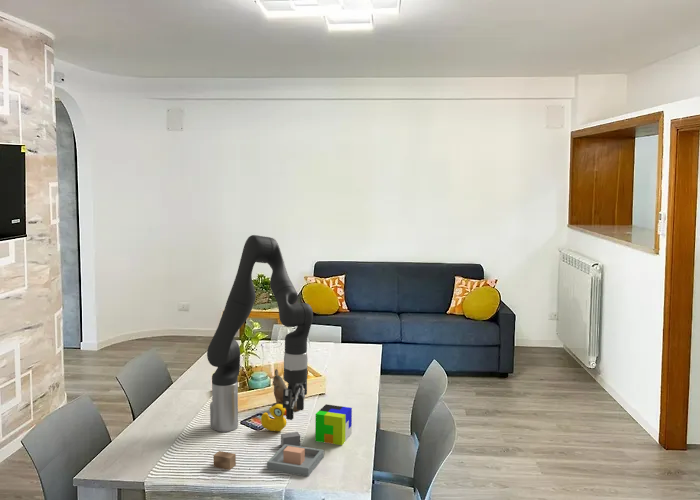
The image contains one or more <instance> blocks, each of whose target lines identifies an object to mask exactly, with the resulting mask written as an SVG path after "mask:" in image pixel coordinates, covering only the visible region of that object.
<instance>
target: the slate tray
mask: <svg viewBox="0 0 700 500" xmlns="http://www.w3.org/2000/svg"><path fill="white" fill-rule="evenodd" d="M287 446H291V447H298V448H304V449H305V461H304V462H303V463H302V464H301V465H298V464H292V463H285V462H283V450H284V449H285V448H286V447H287ZM324 452H325V450H324V449H321V448H314V447H308V446H307V447H306V446H301V445H300V446H294V445H288V444H284V445H283V446H281V447H280V448H279V449H278V450H277V452H276V453H274V454H273V455H272V457H271V458H270V459H268V460H267V462H266V464H267V465H266V470H267V471H274V472H279V473H286V474H292V475H299V476H304V477H309V476H310V475H311V474H312V473H313V471H315V469H316V468H317V466H318V465H319V464H320V462H321V461H322V460H323V459H324V455H325V453H324Z"/></svg>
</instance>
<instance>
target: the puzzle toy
mask: <svg viewBox="0 0 700 500" xmlns="http://www.w3.org/2000/svg"><path fill="white" fill-rule="evenodd" d="M352 409H353V407H348V406H347V407H346V406H341V405H333V404H325V405H324V406H322V407H321V408H320V409H319V410H318V411H317V412H316V413H315V422H314V423H315V433H314V434H315V442H319V443H324V442H325V443H324V444H332V445H338V446H343V445H344V444H345V443H346V442H347V440H348V439H349V438H350V437H351V436H352V433H353V432H352V430H353V429H352V428H353V427H352V426H353V425H352V423H353V422H352V419H353V418H352V415H353V413H352V412H353V410H352ZM344 442H345V443H344Z"/></svg>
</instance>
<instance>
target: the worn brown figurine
mask: <svg viewBox="0 0 700 500" xmlns="http://www.w3.org/2000/svg"><path fill="white" fill-rule="evenodd" d="M274 375H275V376H273V379H272V384H273V397H274V399H275V402H273V403H272V404H271V407H273V406H274V405H276V404H281V405H283V390H284V389H287V388H288V386H286V383H285V380H284V378H282V376H281V375H279V370H278V368H276V369H275V370H274ZM291 404H292V403H291ZM271 407H270V408H271ZM293 408H294V412H296V413H297V412H300V411H301V410H297V401H296V402H295V403H294V407H293ZM285 409H286V408H285Z"/></svg>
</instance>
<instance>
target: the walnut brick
mask: <svg viewBox="0 0 700 500" xmlns="http://www.w3.org/2000/svg"><path fill="white" fill-rule="evenodd" d="M212 457H213V468H217V469H223V470H228V471H231V470H232V469H233V468H234V467H236V465H237V462H236V461H237V459H236V453H233V452H227V451H222V450H218V451H217V452H216V453H215V454H213V456H212Z"/></svg>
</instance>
